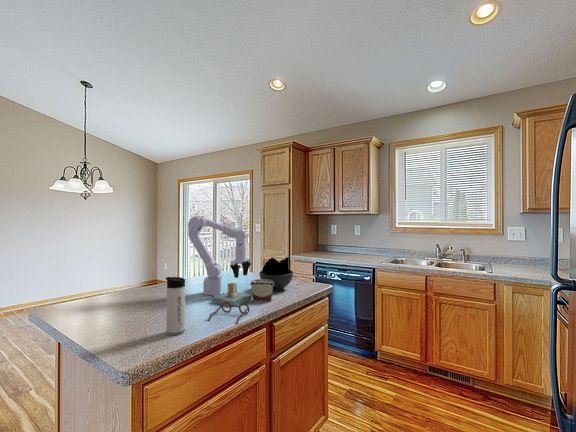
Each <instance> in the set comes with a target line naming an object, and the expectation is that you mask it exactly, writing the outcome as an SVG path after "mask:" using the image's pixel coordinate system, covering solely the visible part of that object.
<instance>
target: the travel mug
mask: <svg viewBox="0 0 576 432" xmlns="http://www.w3.org/2000/svg"><path fill="white" fill-rule="evenodd" d="M165 280H166V331H165V333H166V335H167V336H173V337H174V336H179V335H181V334H184V333H185V331H186V279H185V278H183V277H182V276H181V277H180V276H166V278H165Z"/></svg>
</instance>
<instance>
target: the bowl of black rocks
mask: <svg viewBox="0 0 576 432" xmlns="http://www.w3.org/2000/svg"><path fill="white" fill-rule="evenodd" d="M289 259H290V258H289V257H288V256H287V257H285V258H283V259H281V260H280V261H278V260H277V259H276V258H275V257H270V258H269V259H268V260H267V261H265V263H264V265H263V267H262V269H261V271H259V279H268V280H272V281H273V282H274V285H273V290H276V291H277V290H278V291H279V290H282V289H284V288H286V287H287V286H288V285H290V284H291V282H292V280H293V277H294V271H292V270H290V268H289V263H290V262H289V261H290V260H289Z"/></svg>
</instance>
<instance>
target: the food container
mask: <svg viewBox="0 0 576 432" xmlns="http://www.w3.org/2000/svg"><path fill="white" fill-rule="evenodd" d="M250 281H251V282H250V283H249V285H250V286H251V287H250V288H251V295H252V302H266V303H267V302H268V303H271V302H272V300H273V299H272V297H273V290H274V289H273V285H274V282H273V281H272V280H268V279H261V278H259V279H252V280H250Z"/></svg>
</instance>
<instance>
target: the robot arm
mask: <svg viewBox="0 0 576 432" xmlns="http://www.w3.org/2000/svg"><path fill="white" fill-rule="evenodd" d="M187 227H188V229H187V231H188V232H187V233H188V234H187V236H188V238H189V240H190V241H191V244H192V245H193V246H194V248H195V250H196V251H197V253H198V255H199V257H200V259H201V260H202V262H203V263H204V266H205V270H206V273H207V276H206V277H205V278H204V279H203V292H201V293H202V294H201V295H206V296H212V297H215V296H218V295H221V294H224V293H226V292H225V291H222V275H221V273H222V267H221V265H220V264H219V263H217V261H216V260H215V259H214V258H213V257H212V255H211V253H210V252H209V250H208V248H207V247H206V245H205V243H204V241H203V240H202V238H201V236H200V232H201V230H202V228H204V227H205V228H206V227H209V228H212V229H215V230H218V231H221V232H222V235H225V236H227V237H229V238H232V239H235V259H234V260H231V261H230V266H229V267H230V268H231V270H232V273H233V275H234V277H233V278H235V279H238V278H239V276H240V275H239V274H240V273H239V272H240V268H241V266H242V274H243V276H248V272H249V270H250V267H251V265H252V262H251V258H248V257H247V239H246V238H247V232H246V231H245V230H243V229H240V228H239V227H238V228H236V227H235V226H232V224H225V225H223V224H220V223H218V222H216V221H214V220H211V219H209V218H203V217H201V216H193V217H191V218H190V219H189V221H188V224H187ZM240 264H241V265H240Z"/></svg>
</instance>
